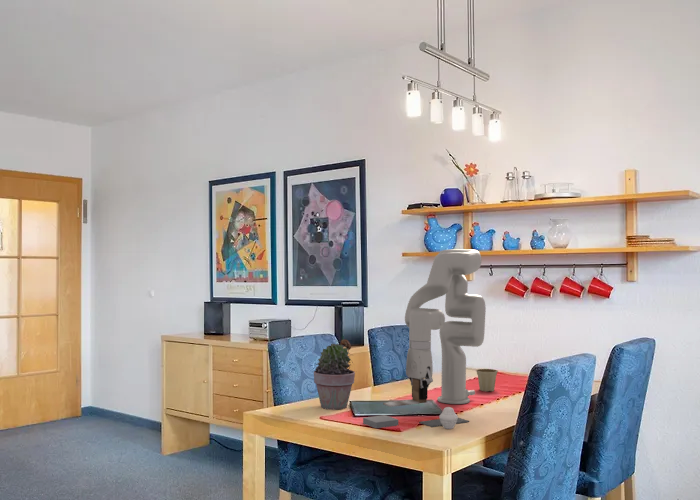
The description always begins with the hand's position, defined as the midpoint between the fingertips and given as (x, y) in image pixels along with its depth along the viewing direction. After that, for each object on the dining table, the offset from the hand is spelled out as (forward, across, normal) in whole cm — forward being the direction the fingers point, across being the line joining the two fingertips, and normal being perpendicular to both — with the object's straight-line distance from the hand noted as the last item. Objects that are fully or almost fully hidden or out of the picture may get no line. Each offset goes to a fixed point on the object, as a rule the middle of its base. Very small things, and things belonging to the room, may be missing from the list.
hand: (419, 397), depth 241 cm
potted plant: (+8, -31, -17) cm, 36 cm away
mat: (+7, +8, +5) cm, 12 cm away
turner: (+1, 0, -6) cm, 6 cm away
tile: (+7, 0, -12) cm, 13 cm away
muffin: (+8, +15, +1) cm, 17 cm away
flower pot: (+8, -31, +59) cm, 67 cm away
